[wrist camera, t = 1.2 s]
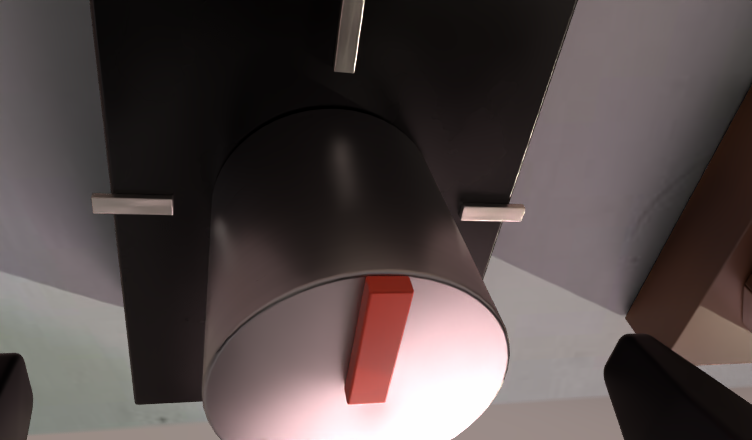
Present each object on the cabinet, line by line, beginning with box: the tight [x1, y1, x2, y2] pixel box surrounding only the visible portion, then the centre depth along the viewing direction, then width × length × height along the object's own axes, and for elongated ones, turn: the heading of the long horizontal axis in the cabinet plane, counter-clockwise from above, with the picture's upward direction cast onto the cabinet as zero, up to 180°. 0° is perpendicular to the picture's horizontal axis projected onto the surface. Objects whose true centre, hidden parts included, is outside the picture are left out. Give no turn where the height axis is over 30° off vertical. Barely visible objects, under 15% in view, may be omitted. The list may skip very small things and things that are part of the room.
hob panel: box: [89, 0, 578, 405], centre depth 13 cm, size 12×9×3 cm
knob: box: [202, 109, 510, 440], centre depth 10 cm, size 4×4×5 cm
